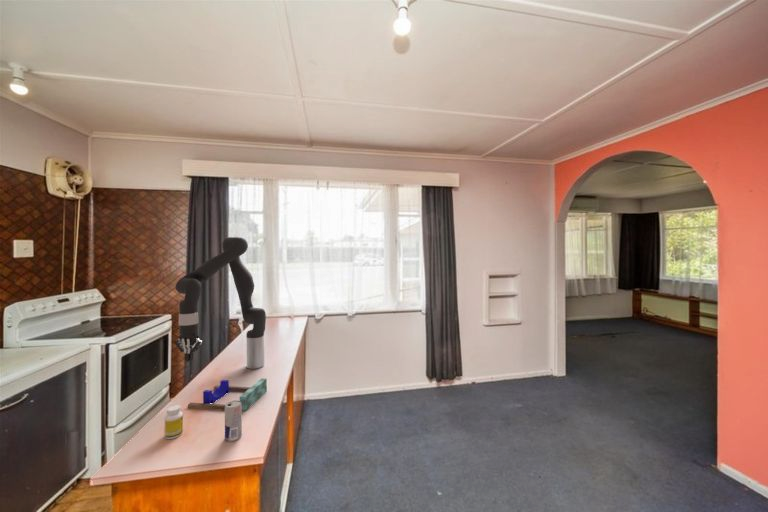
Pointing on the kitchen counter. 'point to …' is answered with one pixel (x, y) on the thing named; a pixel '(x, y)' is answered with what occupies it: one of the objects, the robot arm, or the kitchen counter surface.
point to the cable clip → (216, 392)
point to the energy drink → (233, 421)
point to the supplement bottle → (173, 422)
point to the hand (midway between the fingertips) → (189, 361)
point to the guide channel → (246, 398)
